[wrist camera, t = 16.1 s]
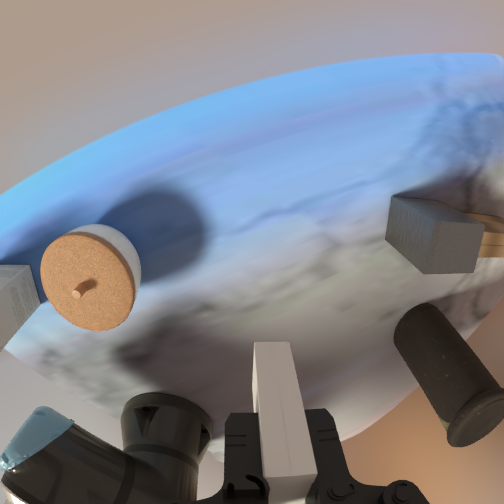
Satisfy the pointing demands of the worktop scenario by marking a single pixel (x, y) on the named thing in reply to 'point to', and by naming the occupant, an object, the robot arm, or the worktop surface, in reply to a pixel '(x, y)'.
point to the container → (450, 375)
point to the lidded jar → (91, 276)
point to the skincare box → (15, 299)
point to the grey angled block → (434, 235)
